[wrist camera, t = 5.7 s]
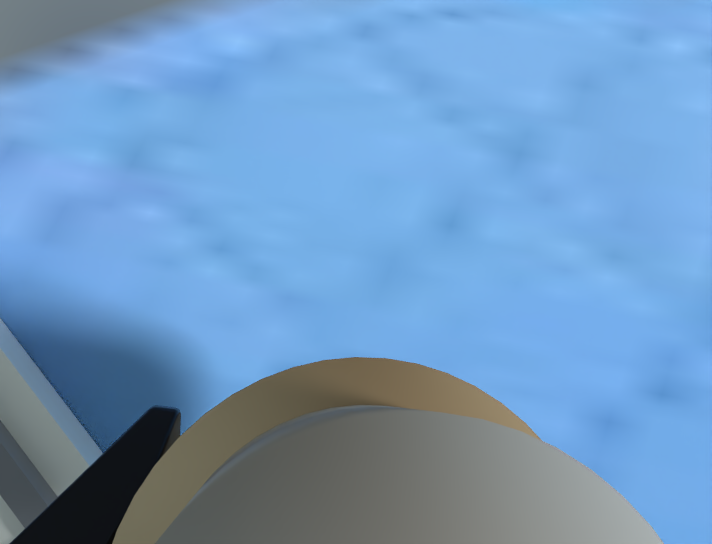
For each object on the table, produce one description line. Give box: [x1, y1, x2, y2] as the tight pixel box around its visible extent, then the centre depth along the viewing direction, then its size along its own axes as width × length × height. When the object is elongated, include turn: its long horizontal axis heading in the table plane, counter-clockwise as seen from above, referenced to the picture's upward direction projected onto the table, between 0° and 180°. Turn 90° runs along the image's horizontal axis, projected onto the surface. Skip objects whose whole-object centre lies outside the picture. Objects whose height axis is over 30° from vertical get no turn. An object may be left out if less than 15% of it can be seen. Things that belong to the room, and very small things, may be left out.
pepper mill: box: [112, 357, 664, 544], centre depth 10 cm, size 5×5×12 cm
